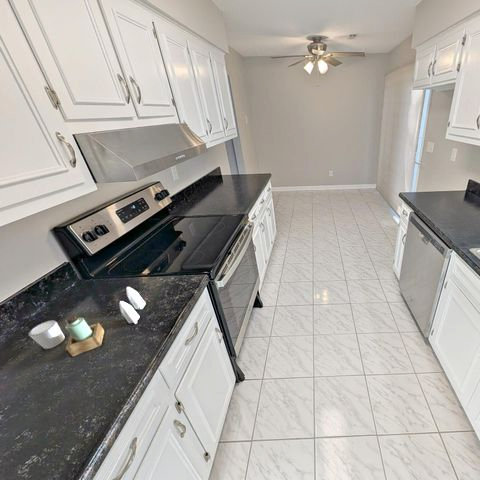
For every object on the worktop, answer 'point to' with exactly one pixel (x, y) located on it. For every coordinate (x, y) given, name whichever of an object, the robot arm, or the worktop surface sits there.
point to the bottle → (78, 328)
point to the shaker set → (128, 309)
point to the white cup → (47, 334)
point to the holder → (86, 341)
